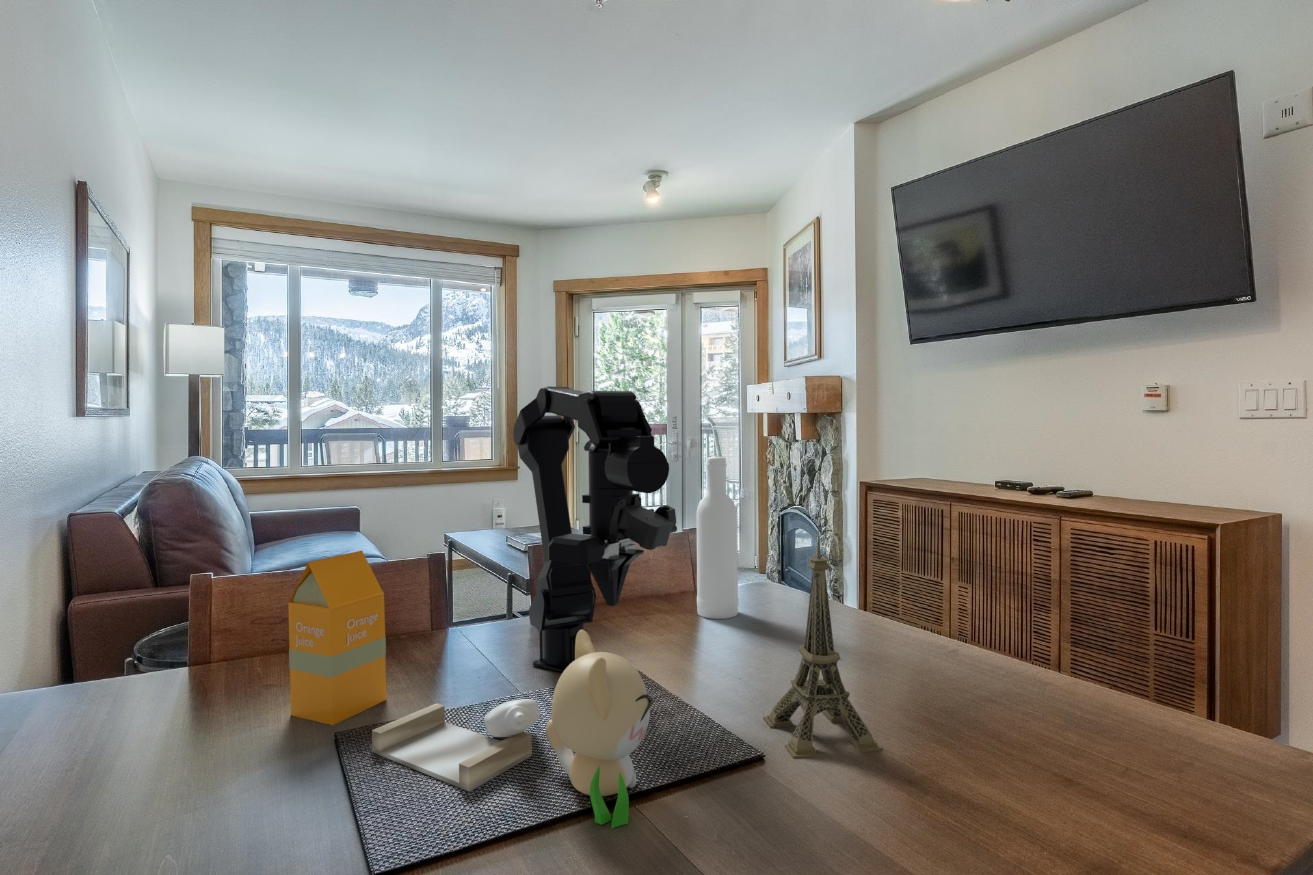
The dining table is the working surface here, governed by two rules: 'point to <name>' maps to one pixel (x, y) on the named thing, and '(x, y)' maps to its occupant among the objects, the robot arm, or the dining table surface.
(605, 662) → the kitten
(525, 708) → the eye dropper bottle
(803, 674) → the eiffel tower
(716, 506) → the bottle
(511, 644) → the dining table surface
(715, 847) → the dining table surface
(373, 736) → the u rest
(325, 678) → the orange juice
